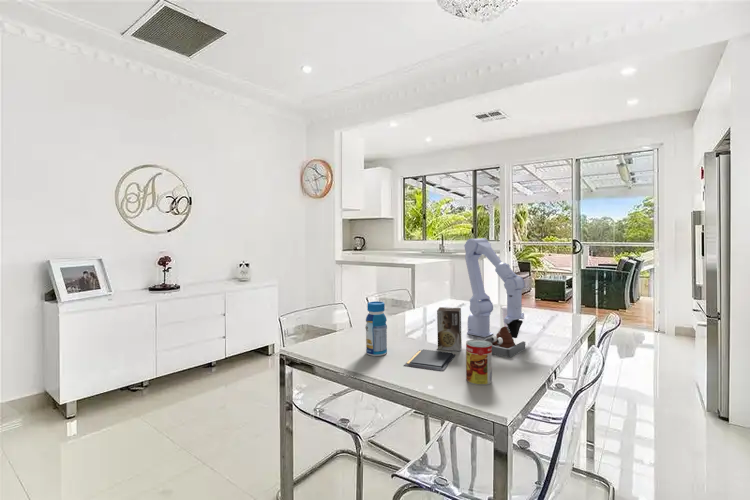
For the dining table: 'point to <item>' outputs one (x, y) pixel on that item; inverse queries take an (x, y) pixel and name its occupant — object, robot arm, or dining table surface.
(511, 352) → the box
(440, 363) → the dark gray flat slab
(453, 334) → the coffee box
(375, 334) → the beverage bottle
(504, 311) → the smoothie
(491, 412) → the dining table surface
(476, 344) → the canned food
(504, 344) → the poop emoji
